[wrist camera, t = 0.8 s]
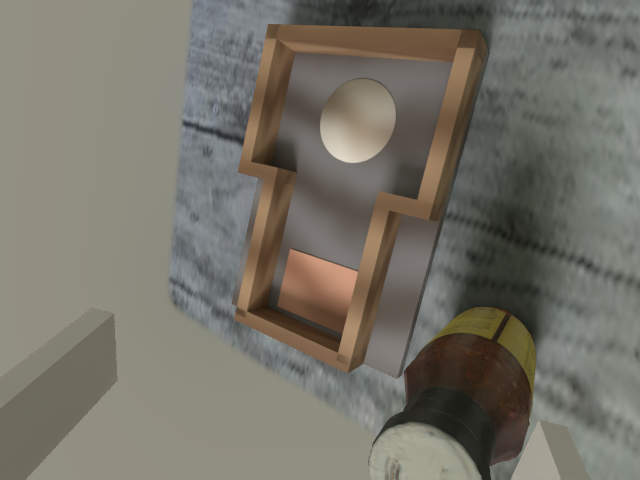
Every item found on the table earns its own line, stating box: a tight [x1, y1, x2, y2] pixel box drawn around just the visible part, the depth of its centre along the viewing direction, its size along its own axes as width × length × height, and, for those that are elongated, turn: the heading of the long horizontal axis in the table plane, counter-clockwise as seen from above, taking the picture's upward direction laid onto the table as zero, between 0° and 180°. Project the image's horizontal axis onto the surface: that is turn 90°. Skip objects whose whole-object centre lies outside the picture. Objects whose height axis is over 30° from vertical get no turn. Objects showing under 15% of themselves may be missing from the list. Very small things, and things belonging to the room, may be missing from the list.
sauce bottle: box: [368, 307, 536, 480], centre depth 23 cm, size 7×6×20 cm
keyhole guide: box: [232, 24, 489, 379], centre depth 36 cm, size 26×18×4 cm
